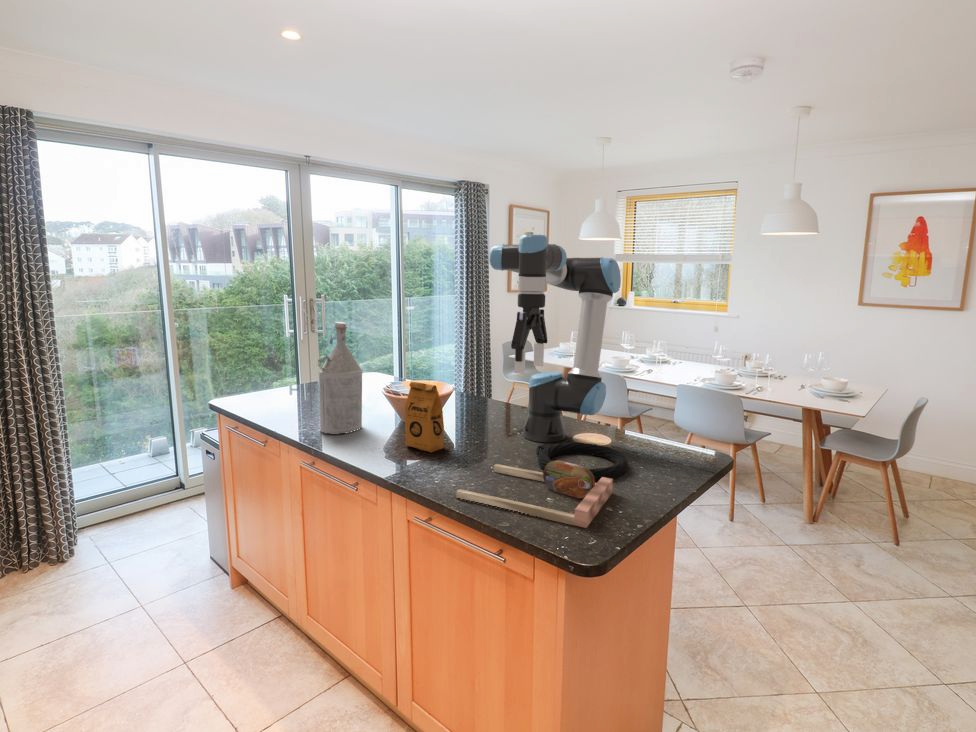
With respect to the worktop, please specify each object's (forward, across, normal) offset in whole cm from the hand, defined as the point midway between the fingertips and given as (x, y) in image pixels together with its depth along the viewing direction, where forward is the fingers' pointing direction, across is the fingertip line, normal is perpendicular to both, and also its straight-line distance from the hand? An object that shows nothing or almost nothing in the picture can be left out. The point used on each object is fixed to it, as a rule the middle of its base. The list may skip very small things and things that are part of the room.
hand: (529, 369), depth 155 cm
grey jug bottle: (+32, -10, -78) cm, 85 cm away
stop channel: (+32, +11, +7) cm, 34 cm away
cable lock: (+32, -18, +10) cm, 38 cm away
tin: (+32, +5, +14) cm, 36 cm away
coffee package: (+32, -8, -40) cm, 52 cm away
